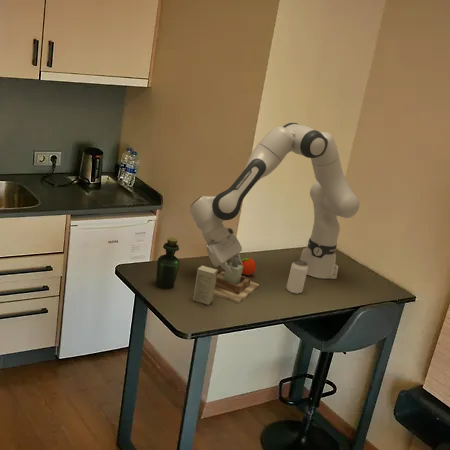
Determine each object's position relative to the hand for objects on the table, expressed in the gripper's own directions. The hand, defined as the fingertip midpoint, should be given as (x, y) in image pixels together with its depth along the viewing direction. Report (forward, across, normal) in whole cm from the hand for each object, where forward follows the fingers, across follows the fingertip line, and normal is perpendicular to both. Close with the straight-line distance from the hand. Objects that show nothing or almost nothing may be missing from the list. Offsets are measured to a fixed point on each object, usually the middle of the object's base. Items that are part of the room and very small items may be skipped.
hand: (235, 269), depth 228 cm
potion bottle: (-8, -17, +20) cm, 27 cm away
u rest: (+5, 0, +6) cm, 8 cm away
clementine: (+5, +17, +7) cm, 19 cm away
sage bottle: (+4, 0, +5) cm, 7 cm away
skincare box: (+3, -18, +8) cm, 20 cm away
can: (+19, +18, -8) cm, 28 cm away
